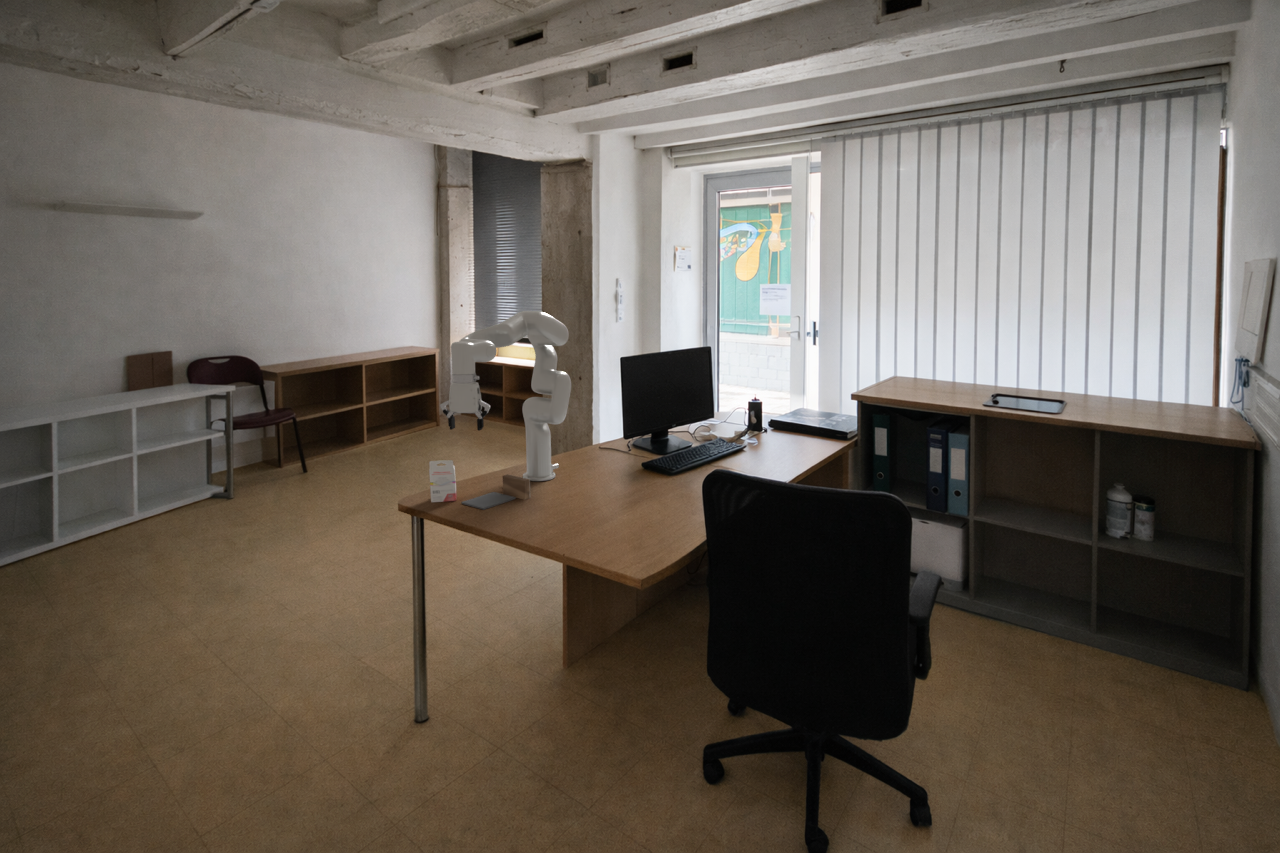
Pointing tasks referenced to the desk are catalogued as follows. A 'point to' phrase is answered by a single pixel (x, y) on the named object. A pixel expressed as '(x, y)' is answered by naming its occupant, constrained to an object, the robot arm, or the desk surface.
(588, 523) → the desk surface
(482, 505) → the mat
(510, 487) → the tile
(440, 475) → the ink cartridge box
